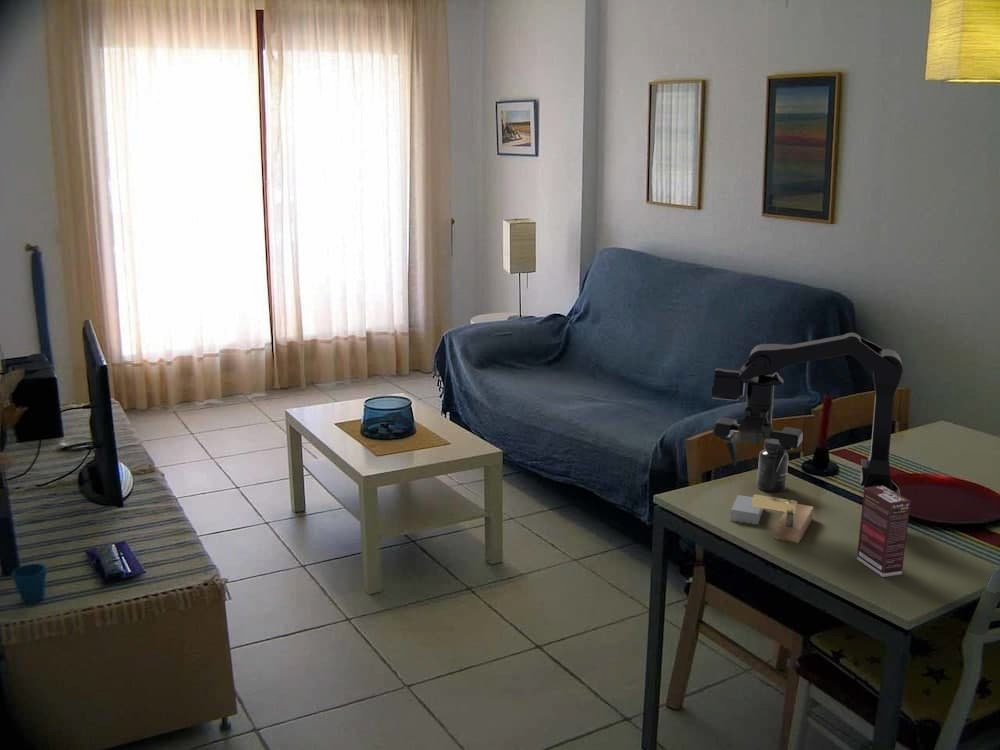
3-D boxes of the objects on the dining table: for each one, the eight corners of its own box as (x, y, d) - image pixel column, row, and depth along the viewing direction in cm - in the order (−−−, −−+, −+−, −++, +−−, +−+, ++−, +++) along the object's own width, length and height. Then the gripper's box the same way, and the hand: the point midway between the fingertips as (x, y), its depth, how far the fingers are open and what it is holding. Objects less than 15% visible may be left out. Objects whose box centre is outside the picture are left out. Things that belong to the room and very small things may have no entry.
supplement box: (903, 574, 190) (912, 500, 186) (882, 578, 189) (891, 503, 185) (875, 555, 198) (883, 484, 194) (855, 558, 197) (862, 487, 193)
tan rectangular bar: (753, 502, 209) (754, 493, 208) (797, 509, 205) (798, 501, 205) (751, 506, 207) (752, 497, 206) (795, 514, 203) (796, 505, 203)
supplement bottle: (786, 494, 229) (790, 447, 226) (757, 492, 231) (760, 445, 227) (784, 483, 236) (788, 437, 233) (755, 481, 237) (759, 435, 234)
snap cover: (763, 510, 221) (764, 498, 220) (757, 526, 213) (758, 513, 212) (736, 506, 223) (737, 494, 223) (730, 522, 215) (731, 509, 215)
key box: (812, 519, 216) (814, 493, 214) (798, 543, 204) (801, 516, 202) (789, 514, 218) (791, 489, 216) (774, 538, 206) (776, 511, 205)
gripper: (707, 406, 210) (703, 473, 214) (794, 418, 201) (788, 488, 205) (721, 392, 219) (718, 457, 223) (805, 404, 210) (800, 471, 215)
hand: (754, 468), depth 216 cm, fingers open, 9 cm apart
